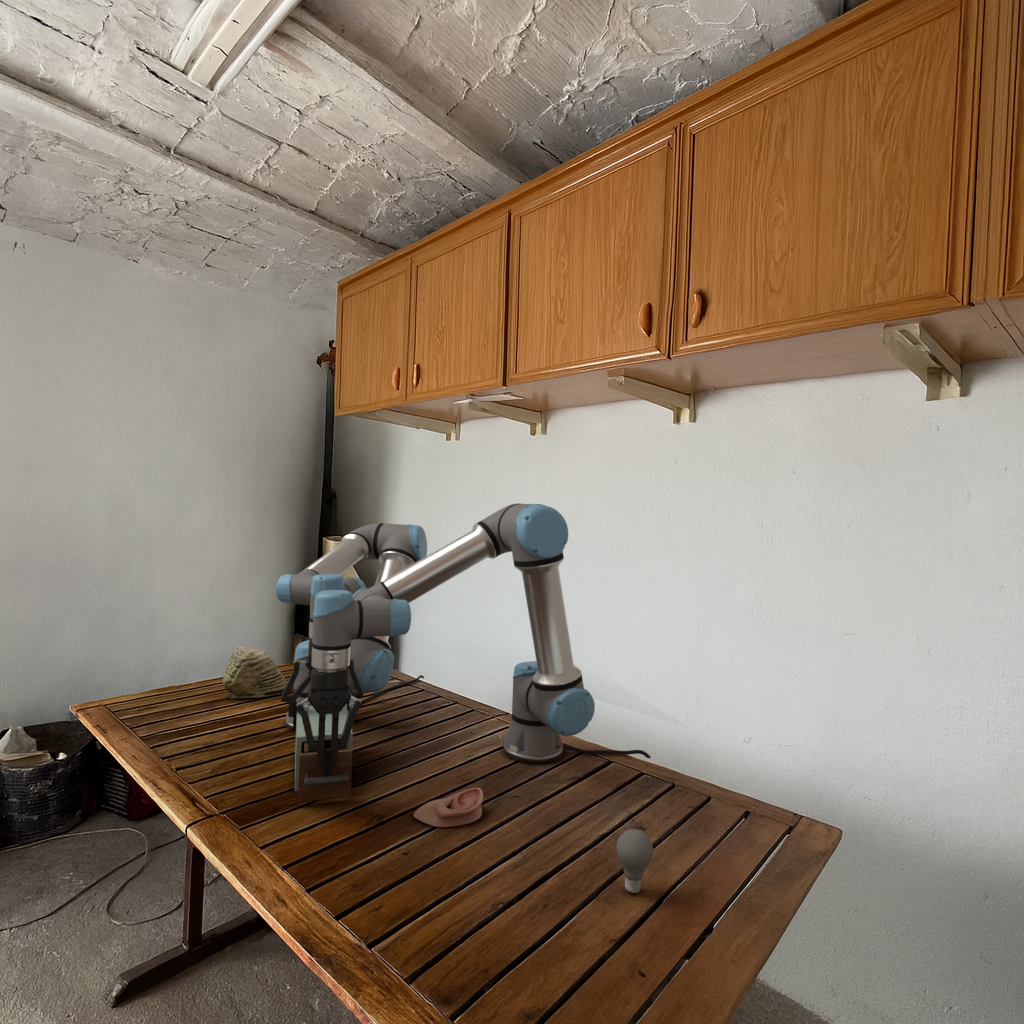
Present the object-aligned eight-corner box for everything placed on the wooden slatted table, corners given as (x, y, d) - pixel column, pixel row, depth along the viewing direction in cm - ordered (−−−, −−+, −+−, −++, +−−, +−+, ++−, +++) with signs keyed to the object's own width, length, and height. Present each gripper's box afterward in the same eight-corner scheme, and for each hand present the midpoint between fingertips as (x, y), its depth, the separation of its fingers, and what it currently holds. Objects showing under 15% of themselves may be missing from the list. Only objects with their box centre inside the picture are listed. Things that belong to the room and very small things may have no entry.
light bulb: (610, 879, 108) (613, 822, 108) (644, 879, 109) (647, 822, 109) (619, 902, 102) (622, 840, 102) (655, 901, 103) (658, 840, 103)
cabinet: (350, 785, 139) (352, 732, 139) (294, 791, 136) (296, 737, 135) (344, 750, 158) (346, 703, 158) (295, 754, 154) (296, 706, 154)
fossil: (218, 695, 195) (220, 647, 195) (278, 685, 208) (279, 640, 207) (228, 703, 189) (230, 653, 188) (289, 692, 201) (290, 645, 201)
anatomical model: (408, 802, 124) (427, 778, 135) (407, 822, 124) (427, 796, 136) (473, 812, 122) (488, 786, 133) (473, 832, 122) (487, 805, 133)
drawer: (352, 808, 127) (354, 761, 127) (297, 815, 124) (299, 766, 124) (344, 760, 150) (346, 720, 150) (297, 764, 146) (299, 723, 146)
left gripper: (271, 643, 145) (267, 737, 146) (377, 640, 153) (373, 729, 153) (272, 636, 152) (269, 726, 153) (373, 634, 160) (370, 719, 160)
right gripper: (296, 674, 122) (291, 794, 123) (365, 671, 126) (360, 787, 127) (296, 663, 129) (292, 777, 130) (362, 661, 133) (357, 771, 134)
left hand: (321, 728), depth 153 cm, fingers closed on cabinet, 12 cm apart
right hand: (326, 782), depth 128 cm, fingers closed
